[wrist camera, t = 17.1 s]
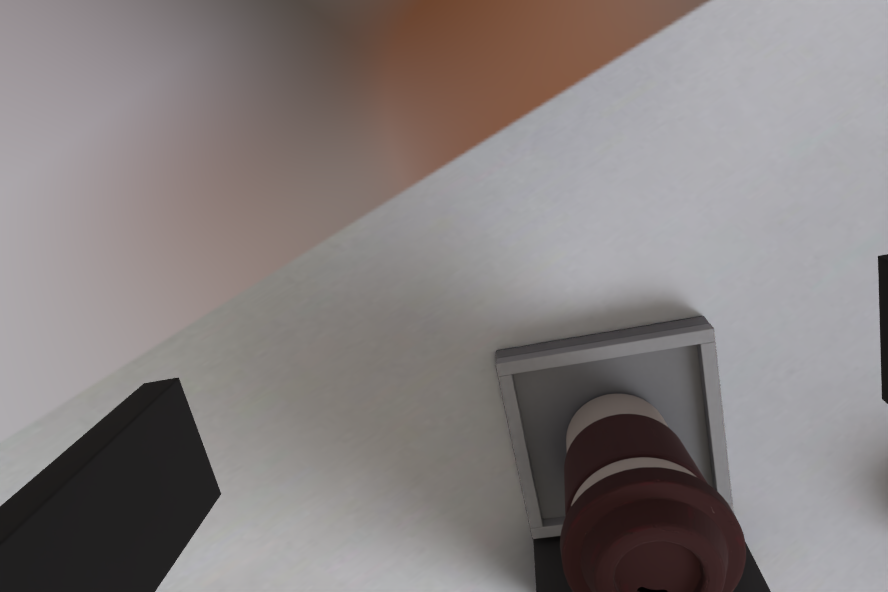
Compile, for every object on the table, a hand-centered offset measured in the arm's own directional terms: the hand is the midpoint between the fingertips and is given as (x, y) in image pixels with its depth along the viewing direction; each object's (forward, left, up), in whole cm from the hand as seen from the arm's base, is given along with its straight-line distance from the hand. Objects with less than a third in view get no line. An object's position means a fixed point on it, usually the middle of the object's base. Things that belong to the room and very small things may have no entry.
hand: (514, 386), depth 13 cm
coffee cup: (+21, +4, -33) cm, 40 cm away
